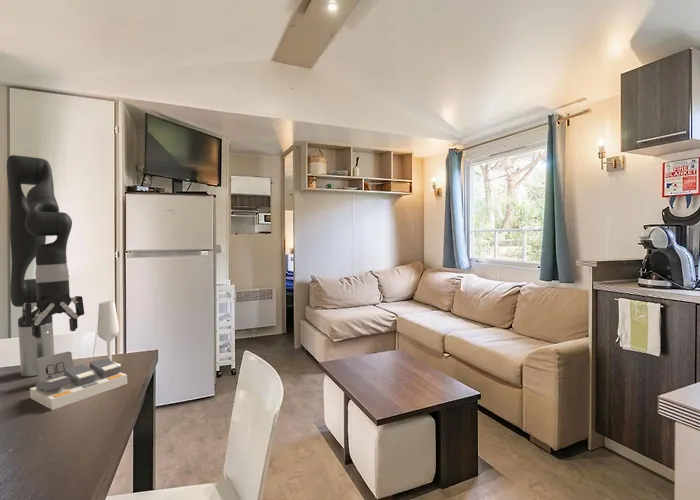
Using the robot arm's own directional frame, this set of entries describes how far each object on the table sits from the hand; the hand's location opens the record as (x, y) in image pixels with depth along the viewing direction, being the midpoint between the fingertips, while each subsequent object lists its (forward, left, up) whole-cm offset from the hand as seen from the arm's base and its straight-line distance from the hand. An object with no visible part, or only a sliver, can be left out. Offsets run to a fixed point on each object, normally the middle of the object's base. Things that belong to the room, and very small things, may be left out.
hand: (55, 334), depth 107 cm
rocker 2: (0, +13, -14) cm, 19 cm away
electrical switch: (-16, +5, -19) cm, 26 cm away
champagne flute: (-14, +21, -19) cm, 31 cm away
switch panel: (0, +6, -19) cm, 20 cm away
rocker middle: (0, +6, -14) cm, 15 cm away
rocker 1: (0, -1, -14) cm, 14 cm away
